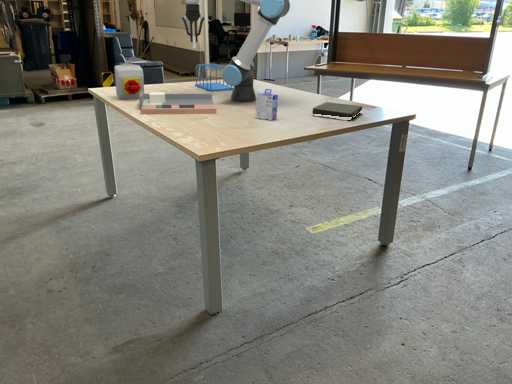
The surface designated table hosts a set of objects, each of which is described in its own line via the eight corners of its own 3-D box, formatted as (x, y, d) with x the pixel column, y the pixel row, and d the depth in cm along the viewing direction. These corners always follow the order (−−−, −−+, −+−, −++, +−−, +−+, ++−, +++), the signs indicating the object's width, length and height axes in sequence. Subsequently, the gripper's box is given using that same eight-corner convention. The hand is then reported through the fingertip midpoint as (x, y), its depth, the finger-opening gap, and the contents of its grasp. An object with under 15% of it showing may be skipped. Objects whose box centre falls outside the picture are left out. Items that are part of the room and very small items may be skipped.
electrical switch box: (120, 105, 248) (118, 70, 238) (116, 97, 260) (114, 63, 250) (146, 104, 254) (144, 70, 244) (141, 96, 265) (139, 63, 255)
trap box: (212, 103, 251) (211, 90, 248) (216, 113, 225) (216, 100, 223) (142, 103, 244) (141, 91, 241) (138, 114, 219) (137, 100, 216)
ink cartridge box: (277, 119, 218) (278, 89, 212) (271, 121, 213) (273, 91, 208) (260, 116, 222) (261, 87, 217) (254, 118, 218) (255, 89, 212)
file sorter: (194, 86, 306) (194, 64, 300) (217, 85, 314) (216, 63, 308) (210, 92, 286) (209, 68, 280) (233, 90, 295) (233, 67, 289)
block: (165, 100, 242) (164, 92, 240) (165, 103, 234) (164, 94, 233) (150, 100, 240) (150, 92, 239) (149, 103, 233) (149, 94, 231)
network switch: (356, 122, 216) (357, 113, 214) (310, 118, 223) (311, 108, 222) (362, 114, 237) (363, 104, 235) (320, 109, 244) (320, 100, 242)
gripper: (181, 3, 235) (183, 48, 244) (205, 3, 238) (206, 48, 246) (180, 3, 242) (182, 47, 250) (203, 4, 244) (204, 47, 253)
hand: (194, 48), depth 248 cm, fingers closed
